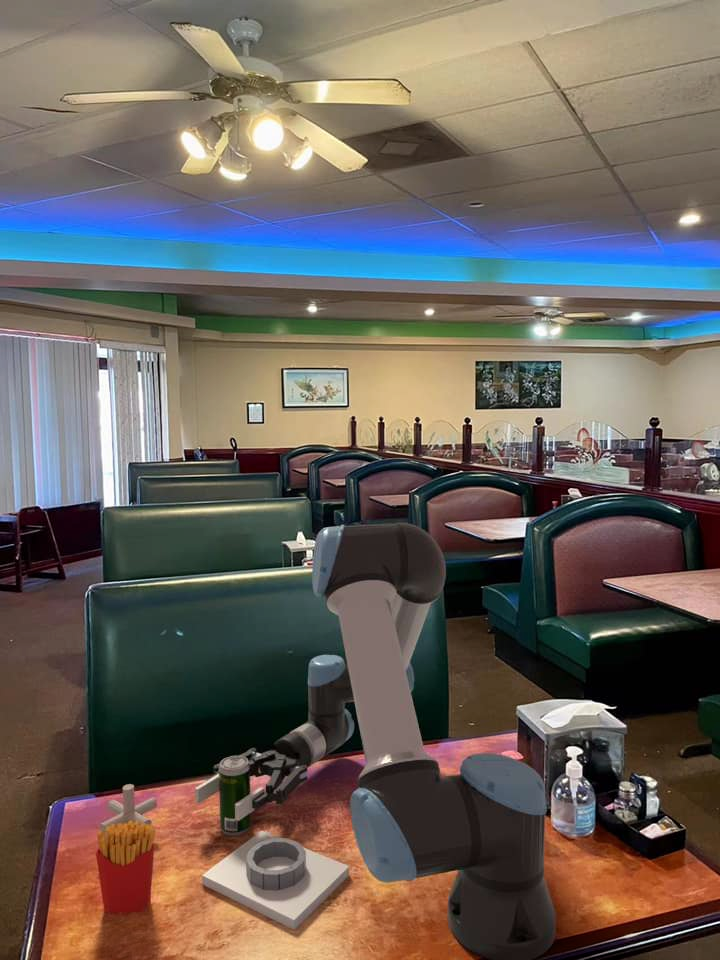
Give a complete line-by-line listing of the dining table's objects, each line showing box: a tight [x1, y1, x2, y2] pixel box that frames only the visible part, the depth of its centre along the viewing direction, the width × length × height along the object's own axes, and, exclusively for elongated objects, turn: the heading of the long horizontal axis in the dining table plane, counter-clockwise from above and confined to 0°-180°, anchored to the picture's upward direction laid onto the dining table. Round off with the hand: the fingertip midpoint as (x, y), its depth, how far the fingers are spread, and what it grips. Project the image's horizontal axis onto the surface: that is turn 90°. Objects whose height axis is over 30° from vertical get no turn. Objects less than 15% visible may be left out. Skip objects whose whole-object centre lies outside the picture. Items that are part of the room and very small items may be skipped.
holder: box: [201, 830, 350, 931], centre depth 109 cm, size 18×14×4 cm
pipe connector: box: [99, 783, 158, 836], centre depth 119 cm, size 10×10×10 cm
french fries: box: [95, 821, 157, 914], centre depth 104 cm, size 8×4×12 cm, turn 93°
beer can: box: [218, 755, 252, 837], centre depth 123 cm, size 5×5×12 cm
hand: (216, 804), depth 119 cm, fingers open, 9 cm apart
